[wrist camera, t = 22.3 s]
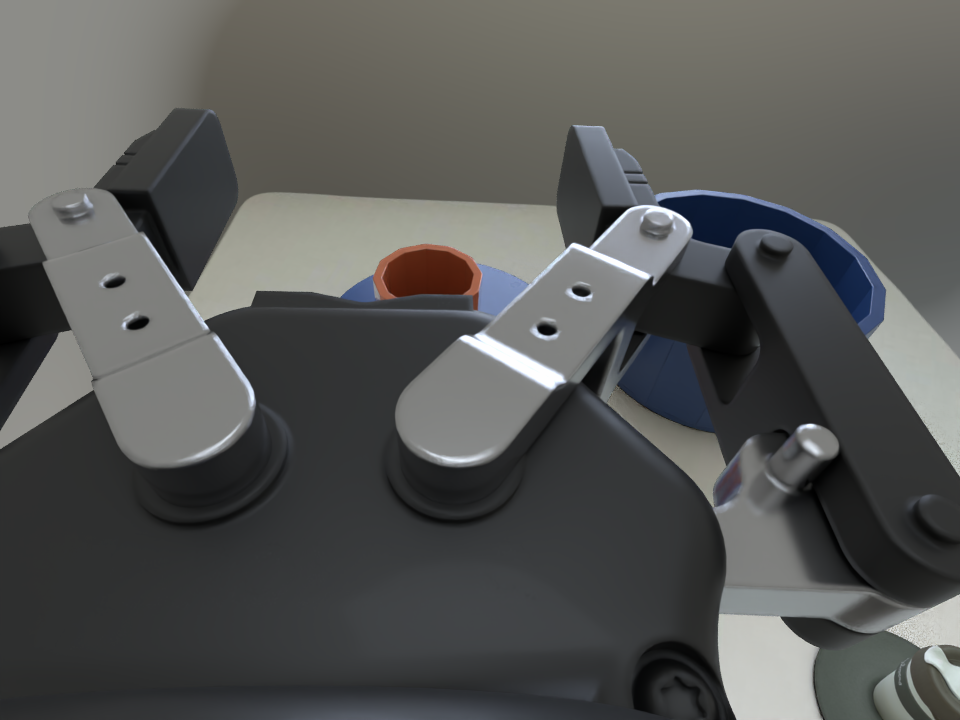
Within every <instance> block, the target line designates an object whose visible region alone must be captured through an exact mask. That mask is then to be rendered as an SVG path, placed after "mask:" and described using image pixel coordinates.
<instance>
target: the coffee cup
mask: <svg viewBox="0 0 960 720" xmlns="http://www.w3.org/2000/svg"><path fill="white" fill-rule="evenodd" d="M814 686H815V692H816V696H817V701H818V705H819V708H820V711H821V713H822V716H823V718H824V720H960V648H959V647H956V646H951V645H937V646H929V647H924V648H922V649H920V648H919V647H917V646H916V645H914V644H912V643H911V642H909V641H907V640H905V639H903V638H901V637H899V636H897V635H895V634H892V633H890V632H887V631H882V632H880V633H878V634H876V635H874V636H872V637H870V638H868V639H866V640H864V641H862V642H859V643H857V644H855V645H853V646H851V647H849V648H846V649H844V650H838V651H837V650H826V649H822V648H820V650H819V653H818V655H817V658H816V661H815V671H814Z"/></svg>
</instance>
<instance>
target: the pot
mask: <svg viewBox="0 0 960 720" xmlns="http://www.w3.org/2000/svg"><path fill="white" fill-rule="evenodd" d="M655 198H656V200H657V202H658V204H659V206H660V207H662V208H666V209H669V210H671V211H674V212H676V213H678V214H680V215H681V216H682V217H684V218H685V219H686V220H687V221H688V222H689V223H690V224H691V227H692V230H693V233H692V237H691V238H692V239H694V240H697V241H700V242H704V243H708V244H713V245H718V246H722V247H727V248H732V246H733V244H734V242H735V240H736V238H737V236H738V235H739V234H740V233H742V232H744V231H747V230H752V229H764V230H771V231H775V232H779V233H782V234H784V235H787V236H789V237H791V238H793V239H795V240H796V241H798V242H799V243H801V244H802V245H803V246H804V247H805V248H806V249H807V250H808V251H809V252H810V254H811V255H812V257H813V258H814V260H815V261H816V263H817V264H818V266H819V267H820V269H821V270H822V272H823V273H824V275H825V276H826V278H827V279H828V281H829V282H830V284H831V285H832V287H833V288H834V290H835V291H836V293H837V294H838V296H839V297H840V299H841V300H842V302H843V303H844V305H845V306H846V308H847V309H848V311H849V312H850V314H851V315H852V317H853V318H854V320H855V321H856V323H857V324H858V326H859V327H860V329H861V330H862V332H863V333H864V335H865V336H866V338H867V339H869V337H870V336H871V335H872V334H873V333H874V331H875V330H876V329H877V328H878V326H879V325H880V324H881V323H882V322H883V320H884V309H885V296H886V289H885V287H884V286H883V284H882V282H881V281H880V279H879V278H878V276H877V274H876V273H875V271H874V269H873V268H872V266H871V264H870V263H869V261H868V259H867V258H866V257H865V256H864V255H862V254H861V253H860V252H859V251H857V250H856V249H855V248H854V247H852V246H851V245H850V244H849V243H848V242H846V241H845V240H844V239H843V238H841V237H840V236H839V235H838V234H837V233H835V232H834V231H833V230H832V229H830V228H828V227H826V226H824V225H822V224H820V223H818V222H816V221H814V220H812V219H810V218H808V217H806V216H804V215H802V214H800V213H798V212H796V211H794V210H792V209H789V208H787V207H784V206H780V205H777V204H773V203H770V202H767V201H763V200H760V199H757V198H753V197H750V196H747V195H741V194H732V193H724V192H715V191H706V190H689V191H679V192H669V193H660V194H657V195H655ZM617 385H618V386H619V387H620V388H621V389H622V390H624V391H625V392H626V393H627V394H628V395H630V396H631V397H632V398H633V399H635V400H636V401H637V402H639V403H640V404H642V405H644V406H645V407H647V408H648V409H650V410H652V411H653V412H655V413H657V414H659V415H661V416H663V417H665V418H667V419H670V420H672V421H675V422H677V423H680V424H682V425H685V426H689V427H692V428H695V429H699V430H703V431H708V432H713V433H715V430H714V427H713V425H712V422H711V419H710V416H709V413H708V410H707V407H706V404H705V401H704V398H703V395H702V392H701V389H700V386H699V383H698V380H697V377H696V374H695V371H694V368H693V365H692V362H691V359H690V356H689V353H688V350H687V347H686V343H682V342H678V341H674V340H670V339H666V338H662V337H658V336H654V335H650V337H649V339H648V341H647V342H646V344H645V345H644V346H643V348H642V349H641V351H640V352H639V354H638V355H637V357H636V358H635V359H634V361H633V362H632V364H631V365H630V367H629V368H628V369H627V371H626V372H625V374H624V375H623V377H622V378H621V379H620V381H619V382H618V384H617Z"/></svg>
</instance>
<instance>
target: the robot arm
mask: <svg viewBox="0 0 960 720" xmlns="http://www.w3.org/2000/svg"><path fill="white" fill-rule="evenodd" d="M124 154H125V155H122V156H121V157H120V158H119V159H118V160H117V162H116V165H113V166H112V167H111V168H110V169H109V171H108V172H107V173H106V174H105V175H104V176H103V177H102V179H101V180H100V181H99V182H98V183H97V184H96V185H95V187H94V188H79V189H72V190H67V191H63V192H59V193H56V194H53V195H51V196H49V197H46V198H44V199H43V200H41V201H39V202H38V203H37V204H35V205H34V206H33V207H32V208H31V210H30V212H29V214H28V218H29V221H30V223H29V224H23V225H16V226H8V227H2V228H0V430H1V428H2V427H3V425H4V424H5V422H6V420H7V419H8V417H9V415H10V414H11V412H12V411H13V409H14V407H15V406H16V404H17V402H18V401H19V399H20V398H21V396H22V394H23V393H24V391H25V389H26V388H27V386H28V385H29V383H30V381H31V380H32V378H33V376H34V375H35V373H36V372H37V370H38V368H39V367H40V365H41V363H42V362H43V360H44V358H45V357H46V355H47V353H48V352H49V350H50V349H51V347H52V345H53V344H54V342H55V340H56V339H57V336H58V333H59V332H64V331H69V330H72V331H73V334H74V336H75V338H76V340H77V343H78V345H79V347H80V349H81V351H82V354H83V356H84V358H85V361H86V363H87V365H88V367H89V369H90V372H91V374H92V377H93V380H92V381H91V382H92V386H93V389H94V390H93V391H91V392H90V393H88V394H87V395H85V396H84V397H82V398H80V399H79V400H77V401H76V402H74V403H72V404H71V405H69V406H68V407H67V408H65V409H63V410H62V411H60V412H58V413H57V414H55V415H54V416H52V417H51V418H49V419H47V420H46V421H44V422H43V423H41V424H39V425H38V426H36V427H35V428H33V429H32V430H30V431H28V432H27V433H25V434H24V435H22V436H20V437H19V438H17V439H16V440H14V441H13V442H11V443H9V444H8V445H6V446H5V447H3V448H2V449H0V720H736V718H735V715H734V713H733V711H732V708H731V706H730V704H729V701H728V698H727V696H726V693H725V689H724V686H723V682H722V677H721V672H720V665H719V653H718V618H719V614H735V615H759V616H780V617H781V619H782V620H783V621H784V623H785V624H786V625H787V626H788V627H789V628H790V629H791V630H792V631H793V632H794V633H795V634H796V635H798V636H799V637H800V638H802V639H803V640H805V641H806V642H808V643H810V644H812V645H814V646H816V647H819V648H822V649H826V650H837V651H838V650H844V649H846V648H849V647H851V646H853V645H855V644H857V643H859V642H862V641H864V640H866V639H868V638H870V637H872V636H874V635H876V634H878V633H880V632H882V631H884V630H886V629H889V628H891V627H893V626H895V625H897V624H899V623H901V622H903V621H905V620H907V619H909V618H911V617H913V616H915V615H918V614H920V613H922V612H924V611H926V610H928V609H930V608H932V607H934V606H936V605H938V604H940V603H942V602H945V601H947V600H949V599H951V598H953V597H955V596H957V595H959V594H960V477H959V475H958V474H957V472H956V471H955V469H954V468H953V466H952V465H951V463H950V462H949V460H948V459H947V457H946V456H945V454H944V453H943V451H942V450H941V448H940V447H939V445H938V444H937V442H936V441H935V439H934V438H933V436H932V435H931V433H930V432H929V430H928V429H927V427H926V426H925V424H924V423H923V421H922V420H921V418H920V417H919V415H918V414H917V412H916V411H915V409H914V408H913V406H912V405H911V403H910V402H909V400H908V399H907V397H906V396H905V394H904V393H903V391H902V390H901V388H900V387H899V385H898V384H897V382H896V381H895V379H894V378H893V376H892V375H891V373H890V372H889V370H888V369H887V367H886V366H885V364H884V363H883V361H882V360H881V358H880V357H879V355H878V354H877V352H876V351H875V349H874V348H873V346H872V345H871V343H870V342H869V341H868V339H867V338H866V336H865V335H864V333H863V332H862V330H861V329H860V327H859V326H858V324H857V323H856V321H855V320H854V318H853V317H852V315H851V314H850V312H849V311H848V309H847V308H846V306H845V305H844V303H843V302H842V300H841V299H840V297H839V296H838V294H837V293H836V291H835V290H834V288H833V287H832V285H831V284H830V282H829V281H828V279H827V278H826V276H825V275H824V273H823V272H822V270H821V269H820V267H819V266H818V264H817V263H816V261H815V260H814V258H813V257H812V255H811V254H810V252H809V251H808V250H807V249H806V248H805V247H804V246H803V245H802V244H801V243H799V242H798V241H796V240H795V239H793V238H791V237H789V236H787V235H784V234H782V233H779V232H775V231H771V230H764V229H752V230H747V231H744V232H742V233H740V234H739V235H738V236H737V238H736V240H735V242H734V244H733V246H732V248H727V247H722V246H718V245H713V244H708V243H704V242H700V241H697V240H694V239H692V238H691V237H692V233H693V230H692V227H691V224H690V223H689V222H688V221H687V220H686V219H685V218H684V217H682V216H681V215H680V214H678V213H676V212H674V211H671V210H669V209H666V208H662V207H660V206H659V204H658V202H657V200H656V198H655V196H654V194H653V192H652V190H651V188H650V186H649V185H648V184H647V183H648V182H647V180H646V177H645V175H643V171H642V169H641V167H640V166H639V163H638V161H637V160H636V159H635V158H634V157H632V156H631V155H630V154H628V153H627V152H626V151H625V150H623V149H613V147H612V144H611V142H610V140H609V138H608V136H607V133H606V131H605V129H604V127H601V126H577V125H572V126H571V127H570V129H569V132H568V136H567V141H566V146H565V152H564V157H563V163H562V168H561V174H560V179H559V185H558V191H557V214H558V218H559V222H560V226H561V230H562V234H563V238H564V242H565V247H566V250H565V251H564V252H563V253H562V254H561V255H560V256H559V257H558V258H557V259H555V260H554V261H553V262H552V263H551V264H550V265H549V266H548V267H547V268H546V269H545V270H544V271H543V272H542V273H541V274H540V275H539V276H538V277H537V278H536V279H535V280H534V281H533V282H532V283H531V284H529V285H528V286H527V287H526V288H525V289H524V290H523V291H522V292H521V293H520V294H519V295H518V296H517V297H516V298H515V299H514V300H513V301H512V302H511V303H510V304H509V305H508V306H507V307H506V308H505V309H503V310H502V311H501V312H500V313H499V314H498V315H497V316H494V315H491V314H488V313H485V312H481V311H477V310H473V295H442V294H418V295H412V296H405V297H399V298H392V299H386V300H379V301H373V302H358V301H353V300H348V299H343V298H338V297H333V296H328V295H323V294H318V293H313V292H282V291H256V294H255V297H254V299H253V302H252V305H251V306H250V307H245V308H240V309H236V310H232V311H229V312H226V313H223V314H219V315H217V316H215V317H212V318H210V319H207V320H205V321H203V319H202V318H201V316H200V315H199V313H198V312H197V310H196V309H195V307H194V306H193V305H192V303H191V302H190V300H189V299H188V297H187V296H186V294H185V293H184V291H193V289H194V287H195V285H196V283H197V281H198V279H199V277H200V275H201V273H202V271H203V269H204V267H205V265H206V263H207V261H208V259H209V257H210V255H211V253H212V251H213V249H214V247H215V245H216V243H217V241H218V239H219V237H220V235H221V233H222V231H223V229H224V227H225V225H226V223H227V221H228V219H229V217H230V215H231V213H232V211H233V209H234V207H235V205H236V203H237V199H238V184H237V178H236V174H235V171H234V168H233V164H232V161H231V158H230V154H229V151H228V148H227V145H226V141H225V138H224V135H223V131H222V128H221V124H220V122H219V119H218V117H217V115H216V114H215V112H214V111H212V110H209V109H185V108H176V109H174V110H173V111H172V112H171V113H170V114H169V115H168V117H167V118H166V119H165V120H164V121H163V123H162V124H161V125H160V126H159V128H157V130H154V131H152V132H150V133H148V134H146V135H144V136H142V137H140V138H139V139H137V140H135V141H134V142H133V143H132V144H131V145H130V147H129V148H128V149H127V150H126V151H125V152H124ZM650 335H654V336H658V337H662V338H666V339H670V340H674V341H678V342H682V343H686V347H687V350H688V353H689V356H690V359H691V362H692V365H693V368H694V371H695V374H696V377H697V380H698V383H699V386H700V389H701V392H702V395H703V398H704V401H705V404H706V407H707V410H708V413H709V416H710V419H711V422H712V425H713V427H714V430H715V433H716V436H717V439H718V442H719V445H720V448H721V451H722V454H723V457H724V460H725V463H726V466H727V467H726V468H725V469H724V470H723V472H722V473H721V474H720V476H719V477H718V478H717V480H716V482H715V484H714V488H713V499H714V506H715V507H713V508H712V506H711V505H710V503H709V501H708V500H707V498H706V497H705V495H704V493H703V492H702V491H701V490H700V488H699V487H698V486H697V485H696V484H695V482H694V481H693V480H692V479H691V478H690V477H689V476H688V475H687V474H686V473H685V472H684V471H683V470H682V469H681V468H679V467H678V466H677V465H676V464H675V463H674V462H673V461H671V460H670V459H669V458H668V457H667V456H666V455H665V454H663V453H662V452H661V451H660V450H659V449H658V448H657V447H655V446H654V445H653V444H652V443H651V442H650V441H649V440H647V439H646V438H645V437H644V436H643V435H642V434H640V433H639V432H638V431H637V430H636V429H635V428H634V427H632V426H631V425H630V424H629V423H628V422H627V421H626V420H624V419H623V418H622V417H621V416H620V415H619V414H618V413H616V412H615V411H614V410H613V409H612V408H611V407H610V406H608V405H607V404H606V403H607V401H608V399H609V397H610V395H611V394H612V392H613V390H614V388H615V387H616V385H617V384H618V382H619V381H620V379H621V378H622V377H623V375H624V374H625V372H626V371H627V369H628V368H629V367H630V365H631V364H632V362H633V361H634V359H635V358H636V357H637V355H638V354H639V352H640V351H641V349H642V348H643V346H644V345H645V344H646V342H647V341H648V339H649V337H650Z"/></svg>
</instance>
